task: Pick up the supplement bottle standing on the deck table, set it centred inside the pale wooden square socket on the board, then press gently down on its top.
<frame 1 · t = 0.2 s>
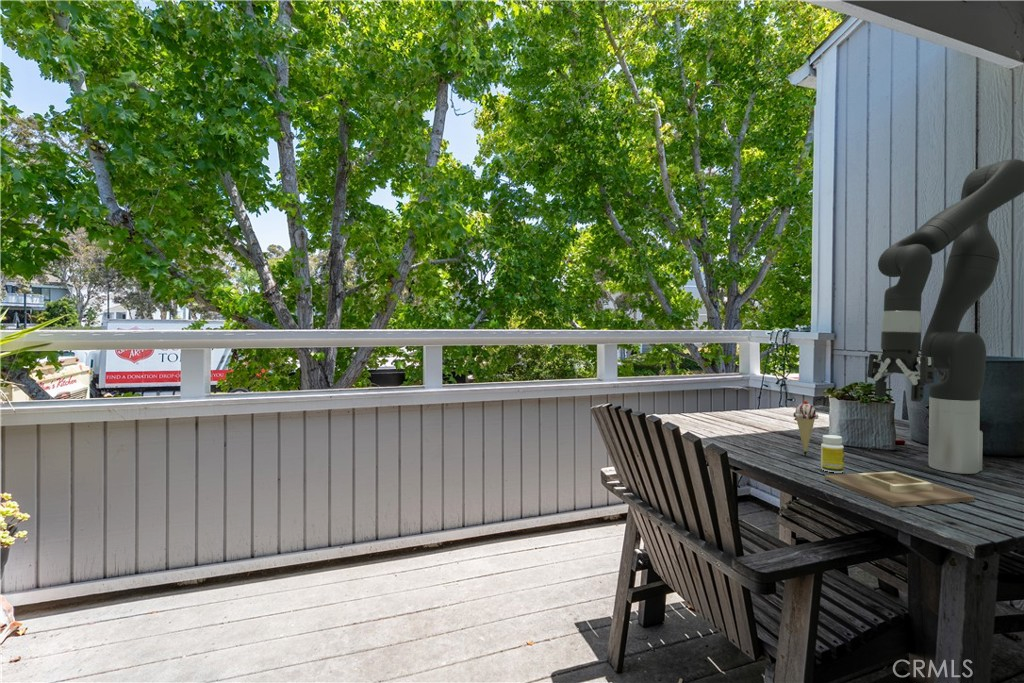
hand: (897, 398, 121), 17 cm above the table, tool pointing down, fingers open, 8 cm apart
supplement bottle: (832, 471, 123), on the table
socket board: (894, 489, 109), on the table
ice cream cone: (805, 457, 136), on the table
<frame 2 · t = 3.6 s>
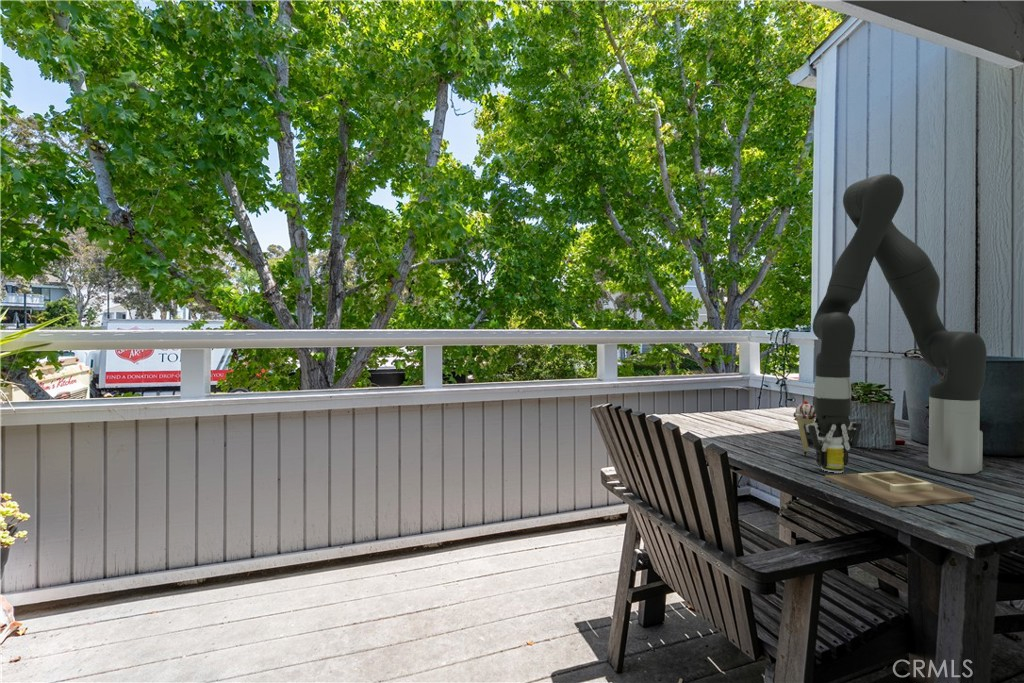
hand: (832, 465, 123), 1 cm above the table, tool pointing down, fingers closed on supplement bottle, 4 cm apart
supplement bottle: (832, 471, 123), on the table, touching gripper
everything else where it was.
when the fingers open (4 cm above the table, at t = 9.2 s): supplement bottle drops 2 cm, resting on socket board.
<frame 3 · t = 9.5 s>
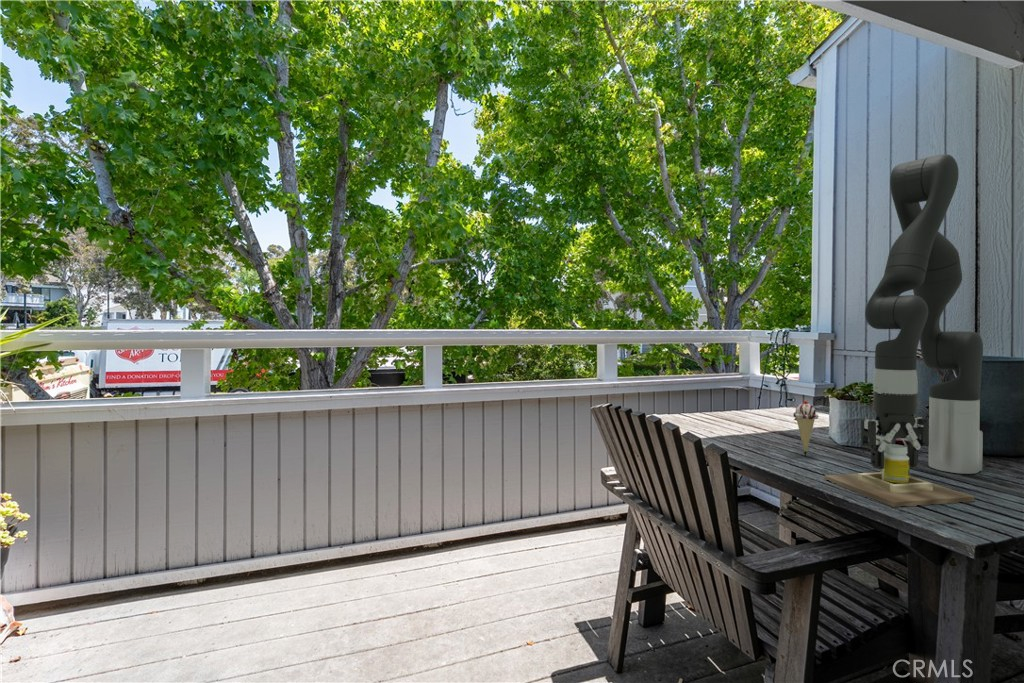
hand: (894, 467, 108), 5 cm above the table, tool pointing down, fingers open, 7 cm apart
supplement bottle: (895, 486, 109), point 1 cm above the table, touching socket board
everything else where it was.
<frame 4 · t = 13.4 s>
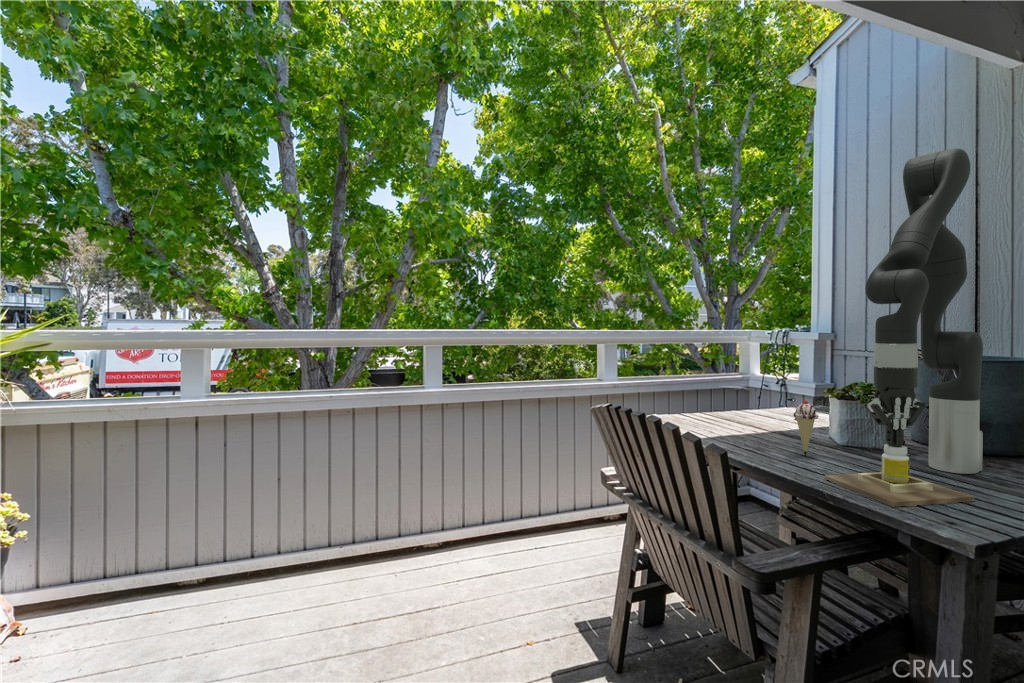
hand: (894, 446, 108), 9 cm above the table, tool pointing down, fingers closed
supplement bottle: (895, 486, 109), point 1 cm above the table, touching gripper, socket board
everything else where it was.
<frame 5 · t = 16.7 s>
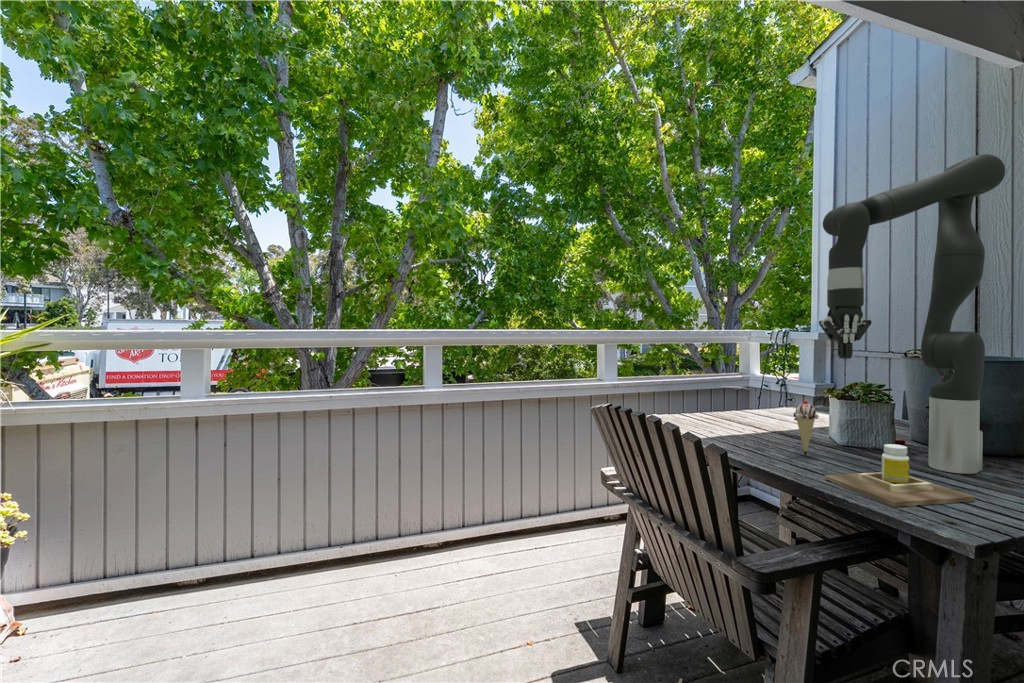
hand: (844, 358, 125), 27 cm above the table, tool pointing down, fingers closed
supplement bottle: (895, 486, 109), point 1 cm above the table, touching socket board
everything else where it was.
at the end: supplement bottle 0.2 cm off-centre on the socket board, point 0.8 cm above the socket board's base; supplement bottle tilted 0°; the gripper is holding nothing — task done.
